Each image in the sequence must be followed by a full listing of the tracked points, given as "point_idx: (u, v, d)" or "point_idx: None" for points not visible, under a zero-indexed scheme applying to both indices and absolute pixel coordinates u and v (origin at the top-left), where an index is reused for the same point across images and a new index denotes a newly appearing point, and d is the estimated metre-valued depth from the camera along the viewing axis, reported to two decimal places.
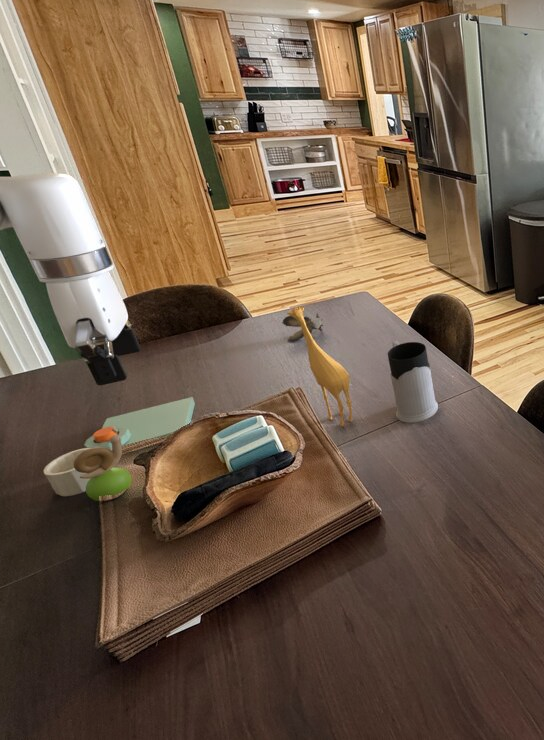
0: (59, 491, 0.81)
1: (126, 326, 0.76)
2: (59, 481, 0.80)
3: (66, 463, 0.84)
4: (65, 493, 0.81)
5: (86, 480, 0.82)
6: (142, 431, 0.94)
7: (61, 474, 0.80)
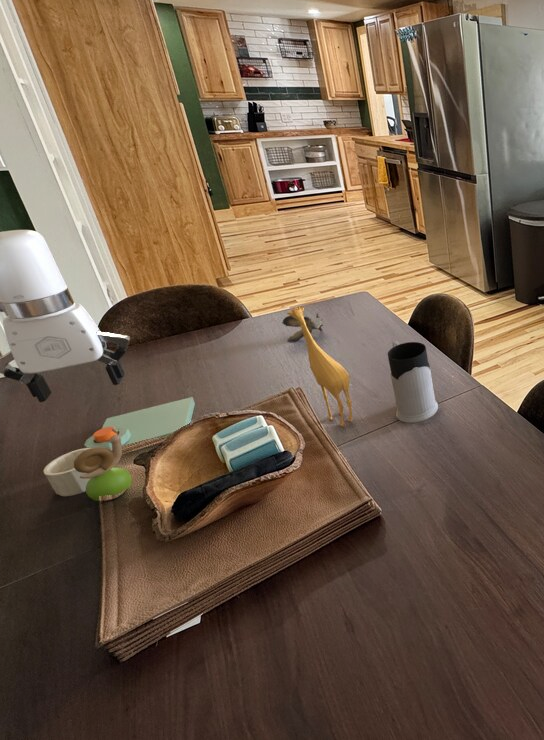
0: (59, 491, 0.81)
1: None
2: (59, 481, 0.80)
3: (66, 463, 0.84)
4: (65, 493, 0.81)
5: (86, 480, 0.82)
6: (142, 431, 0.94)
7: (61, 474, 0.80)
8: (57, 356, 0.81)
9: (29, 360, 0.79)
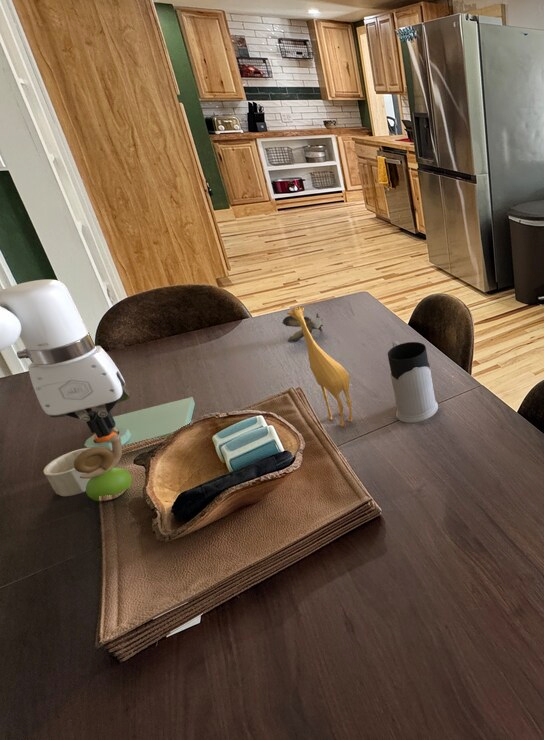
0: (59, 491, 0.81)
1: (91, 407, 0.89)
2: (59, 481, 0.80)
3: (66, 463, 0.84)
4: (65, 493, 0.81)
5: (86, 480, 0.82)
6: (142, 431, 0.94)
7: (61, 474, 0.80)
8: (80, 398, 0.84)
9: (53, 403, 0.83)
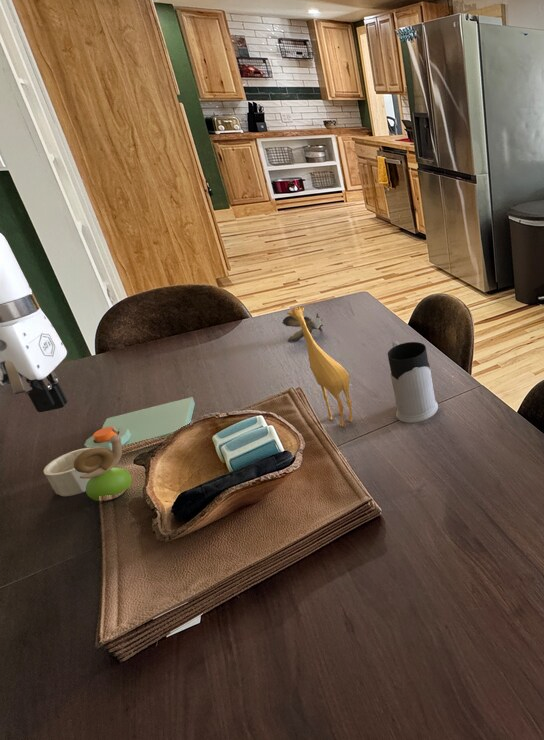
0: (59, 491, 0.81)
1: None
2: (59, 481, 0.80)
3: (66, 463, 0.84)
4: (65, 493, 0.81)
5: (86, 480, 0.82)
6: (142, 431, 0.94)
7: (61, 474, 0.80)
8: (51, 354, 0.78)
9: (40, 362, 0.75)
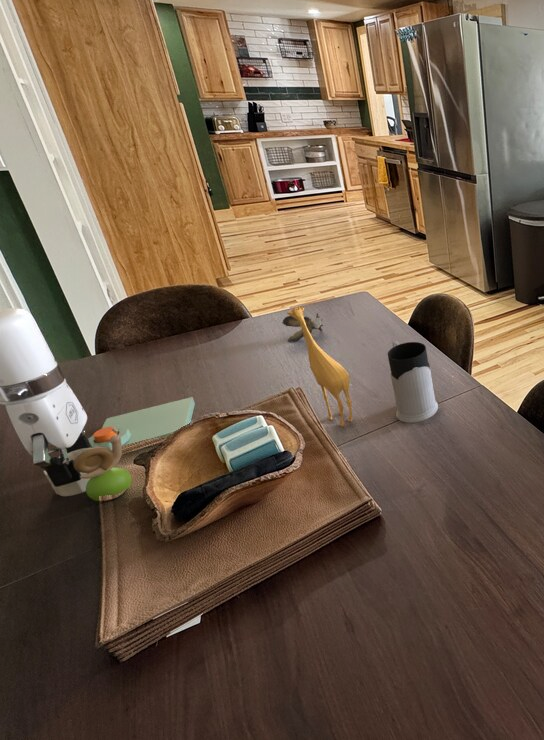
0: (59, 491, 0.81)
1: None
2: None
3: None
4: (65, 493, 0.81)
5: (86, 480, 0.82)
6: (142, 431, 0.94)
7: None
8: (76, 421, 0.81)
9: (68, 431, 0.78)
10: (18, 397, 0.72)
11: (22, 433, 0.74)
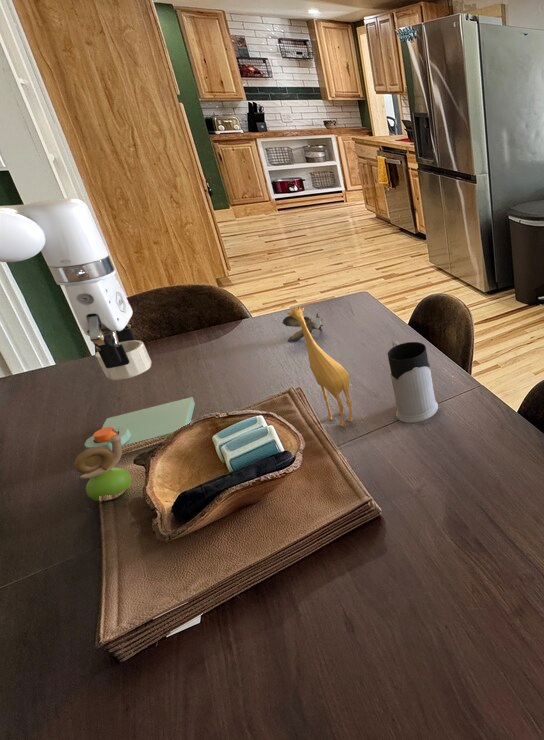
0: (109, 374, 0.88)
1: None
2: None
3: None
4: (115, 377, 0.89)
5: (133, 366, 0.90)
6: (142, 431, 0.94)
7: None
8: (124, 311, 0.88)
9: (119, 316, 0.86)
10: (76, 277, 0.80)
11: (79, 312, 0.82)
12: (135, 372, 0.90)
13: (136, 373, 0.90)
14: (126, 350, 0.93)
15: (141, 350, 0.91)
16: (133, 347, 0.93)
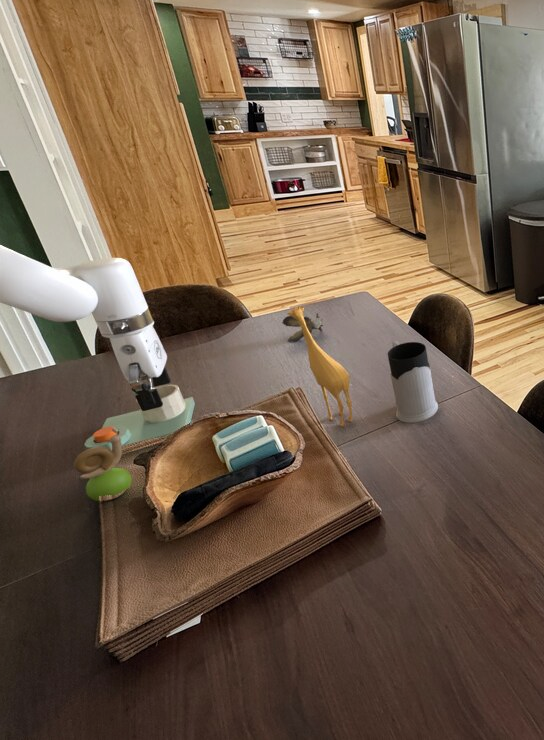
0: (148, 418, 0.96)
1: None
2: None
3: None
4: (153, 420, 0.96)
5: (170, 409, 0.97)
6: (142, 431, 0.94)
7: None
8: (160, 357, 0.96)
9: (157, 363, 0.93)
10: (121, 330, 0.87)
11: (122, 362, 0.89)
12: (172, 415, 0.98)
13: (172, 416, 0.98)
14: (162, 394, 1.00)
15: (177, 394, 0.99)
16: (169, 391, 1.01)
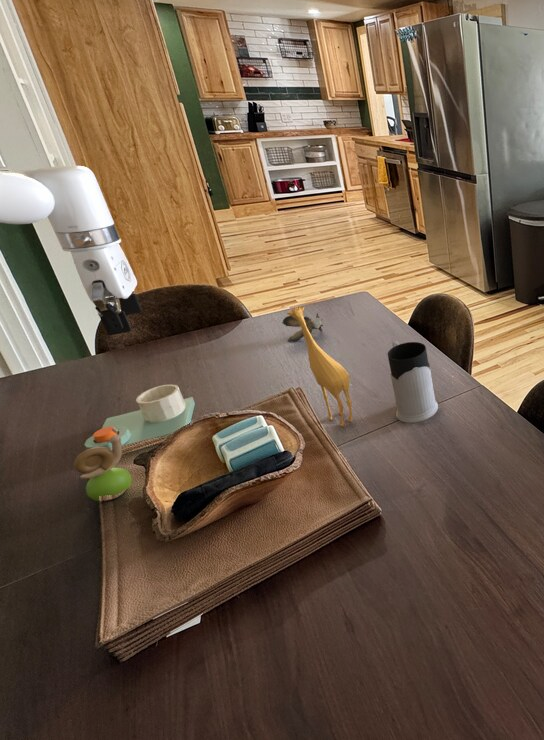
0: (148, 418, 0.96)
1: None
2: (149, 409, 0.95)
3: (151, 396, 0.99)
4: (153, 420, 0.96)
5: (170, 409, 0.97)
6: (142, 431, 0.94)
7: (151, 403, 0.95)
8: (129, 280, 0.89)
9: (124, 284, 0.87)
10: (83, 243, 0.81)
11: (85, 278, 0.83)
12: (172, 415, 0.98)
13: (172, 416, 0.98)
14: (162, 394, 1.00)
15: (177, 394, 0.99)
16: (169, 391, 1.01)
